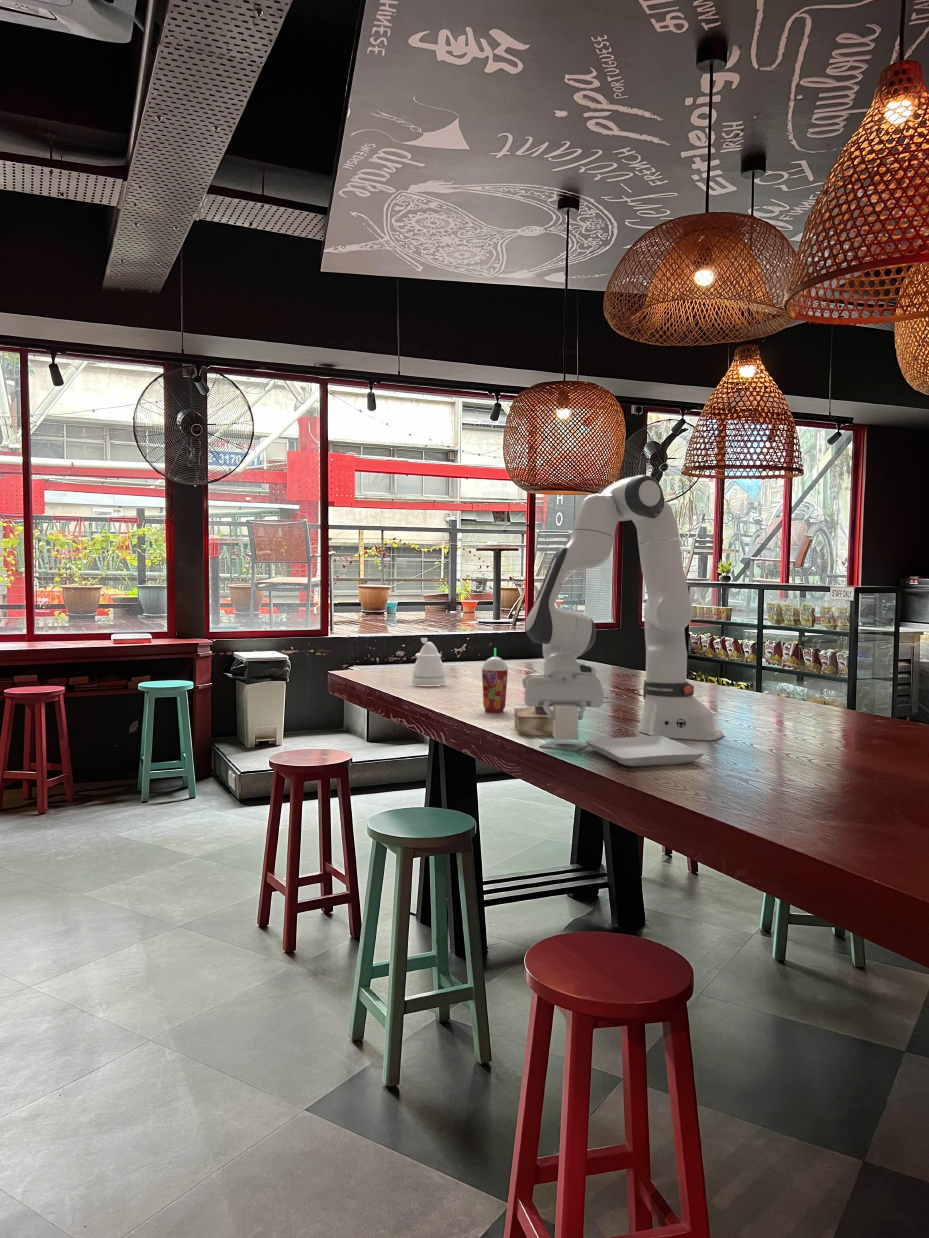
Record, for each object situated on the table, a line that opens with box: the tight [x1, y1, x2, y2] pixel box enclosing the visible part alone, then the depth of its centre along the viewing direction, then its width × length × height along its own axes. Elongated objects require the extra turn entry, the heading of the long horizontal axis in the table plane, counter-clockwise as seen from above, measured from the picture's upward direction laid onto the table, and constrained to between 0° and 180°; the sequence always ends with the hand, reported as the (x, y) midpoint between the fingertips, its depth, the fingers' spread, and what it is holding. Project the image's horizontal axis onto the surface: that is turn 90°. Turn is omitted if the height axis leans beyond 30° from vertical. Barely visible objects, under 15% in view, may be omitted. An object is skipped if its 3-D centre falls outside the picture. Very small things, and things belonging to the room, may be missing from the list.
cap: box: [552, 704, 580, 741], centre depth 216 cm, size 6×6×8 cm
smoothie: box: [481, 647, 509, 714], centre depth 270 cm, size 8×8×20 cm
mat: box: [538, 738, 589, 753], centre depth 217 cm, size 10×10×1 cm
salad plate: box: [585, 735, 705, 767], centre depth 204 cm, size 21×21×3 cm
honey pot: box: [411, 637, 446, 685], centre depth 333 cm, size 13×13×18 cm
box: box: [513, 707, 553, 736], centre depth 238 cm, size 14×14×8 cm
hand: (565, 718), depth 216 cm, fingers closed on cap, 6 cm apart
